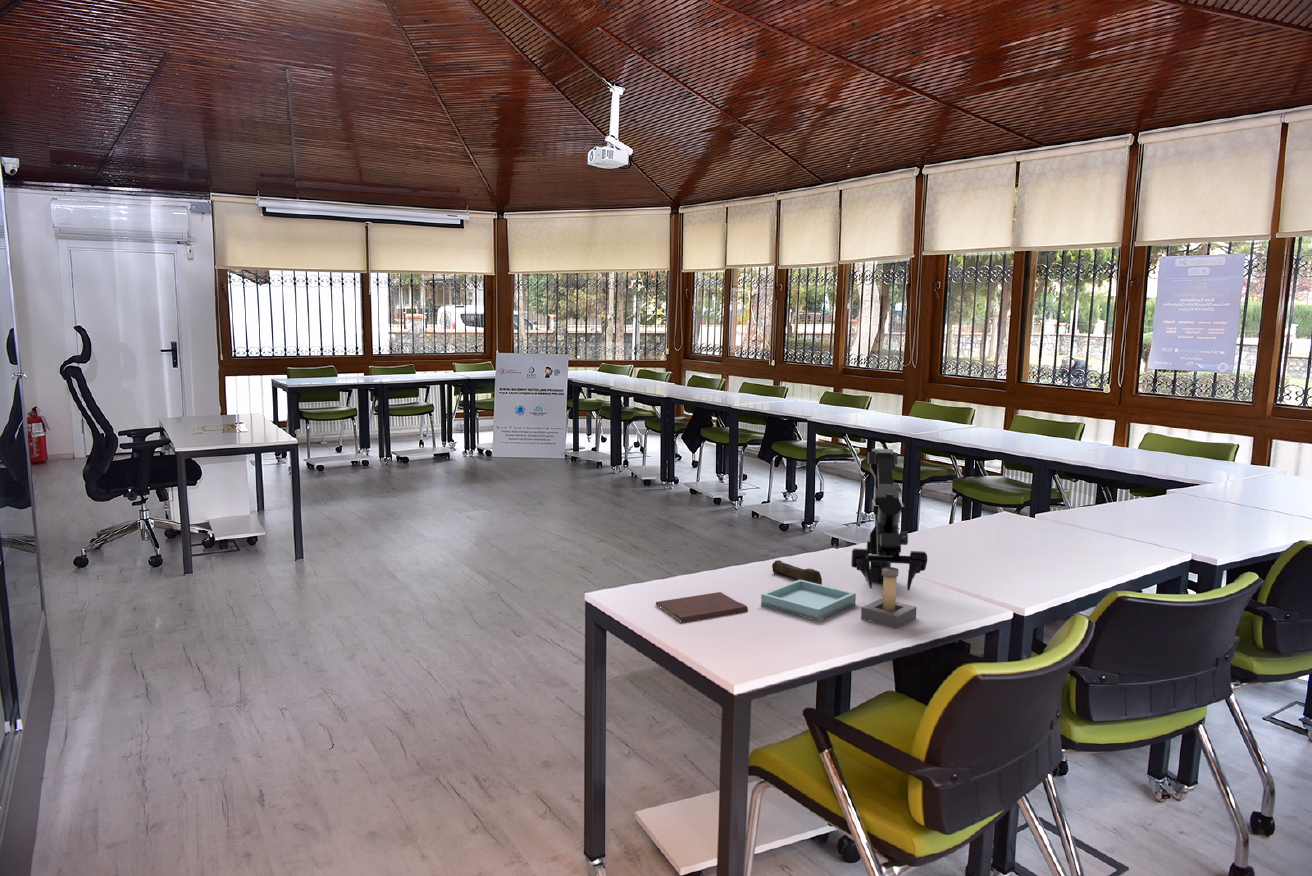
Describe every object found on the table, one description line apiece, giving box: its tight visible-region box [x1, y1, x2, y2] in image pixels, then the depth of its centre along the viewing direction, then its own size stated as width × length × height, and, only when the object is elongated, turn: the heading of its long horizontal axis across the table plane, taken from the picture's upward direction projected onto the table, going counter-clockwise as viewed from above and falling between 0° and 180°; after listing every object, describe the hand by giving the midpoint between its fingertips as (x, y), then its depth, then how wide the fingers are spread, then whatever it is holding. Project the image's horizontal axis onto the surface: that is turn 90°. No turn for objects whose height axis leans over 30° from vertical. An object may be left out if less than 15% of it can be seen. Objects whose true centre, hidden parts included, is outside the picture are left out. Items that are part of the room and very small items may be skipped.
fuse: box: [882, 566, 899, 612], centre depth 211 cm, size 4×4×13 cm
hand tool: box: [771, 560, 823, 585], centre depth 245 cm, size 19×4×5 cm, turn 32°
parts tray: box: [760, 579, 857, 621], centre depth 223 cm, size 18×18×3 cm
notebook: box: [655, 591, 749, 623], centre depth 221 cm, size 15×20×2 cm
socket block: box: [860, 597, 918, 629], centre depth 212 cm, size 10×10×3 cm
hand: (889, 588), depth 211 cm, fingers open, 9 cm apart
